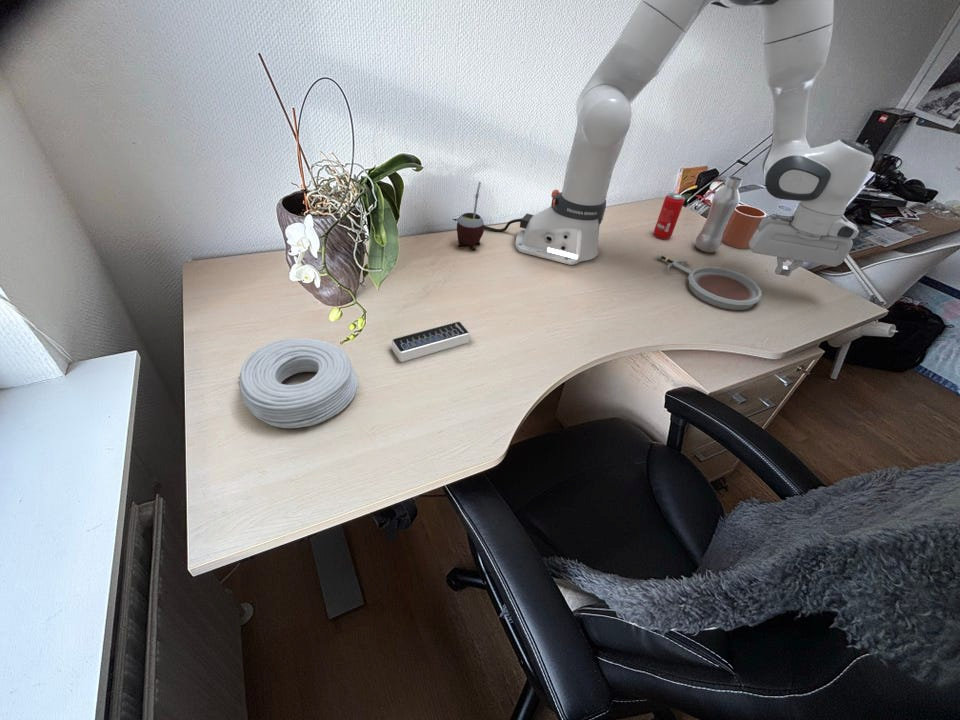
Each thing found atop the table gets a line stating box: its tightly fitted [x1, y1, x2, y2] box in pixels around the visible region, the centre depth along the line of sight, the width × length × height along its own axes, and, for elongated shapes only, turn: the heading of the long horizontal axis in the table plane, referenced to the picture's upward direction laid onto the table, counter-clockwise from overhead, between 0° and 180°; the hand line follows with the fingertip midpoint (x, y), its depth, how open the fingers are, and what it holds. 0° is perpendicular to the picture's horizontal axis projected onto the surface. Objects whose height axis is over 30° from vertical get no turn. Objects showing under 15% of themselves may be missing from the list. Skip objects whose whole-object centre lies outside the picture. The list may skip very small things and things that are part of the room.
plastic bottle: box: [695, 175, 743, 253], centre depth 124 cm, size 6×7×20 cm
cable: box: [238, 337, 358, 429], centre depth 74 cm, size 18×18×6 cm
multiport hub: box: [391, 321, 470, 363], centre depth 87 cm, size 4×14×2 cm, turn 120°
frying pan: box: [657, 253, 763, 311], centre depth 115 cm, size 17×3×28 cm
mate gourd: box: [456, 181, 485, 252], centre depth 116 cm, size 8×8×15 cm
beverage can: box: [653, 192, 686, 240], centre depth 131 cm, size 5×5×12 cm
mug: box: [721, 204, 767, 250], centre depth 133 cm, size 12×9×10 cm
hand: (781, 274), depth 111 cm, fingers closed
